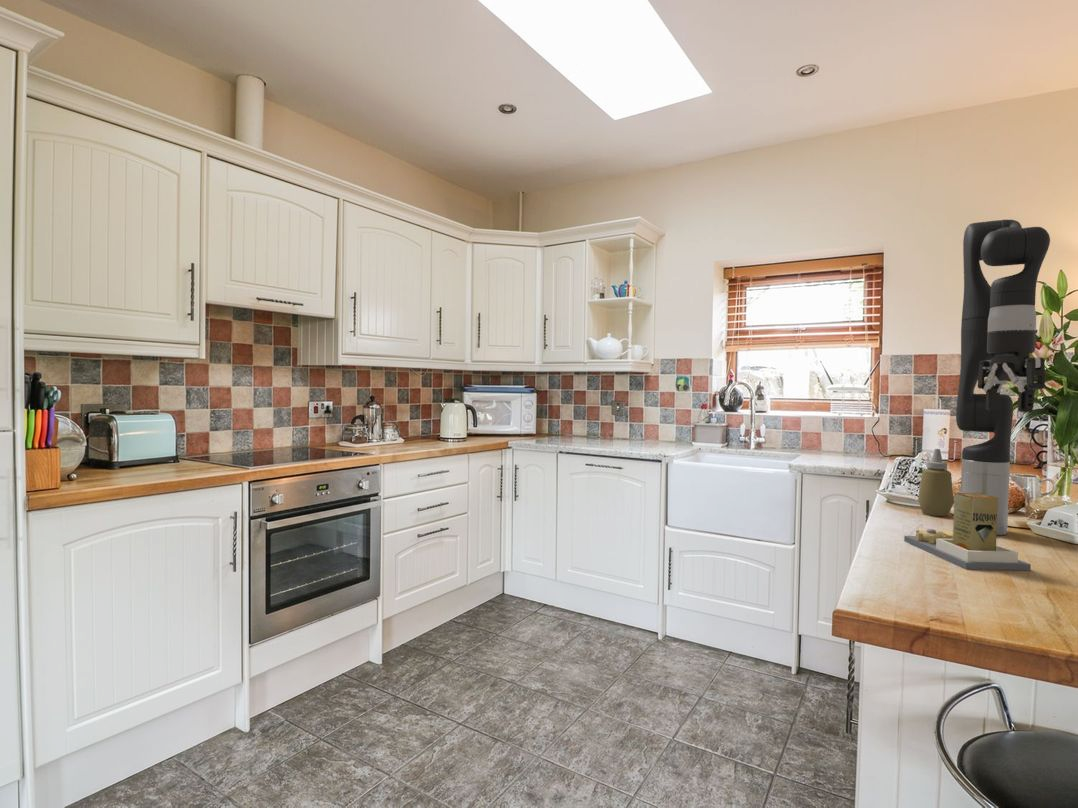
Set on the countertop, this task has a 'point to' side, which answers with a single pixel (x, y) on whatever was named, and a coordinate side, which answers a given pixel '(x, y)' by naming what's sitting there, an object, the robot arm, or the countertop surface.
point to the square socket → (977, 553)
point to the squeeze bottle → (936, 487)
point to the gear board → (928, 543)
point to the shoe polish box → (975, 521)
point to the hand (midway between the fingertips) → (1008, 410)
